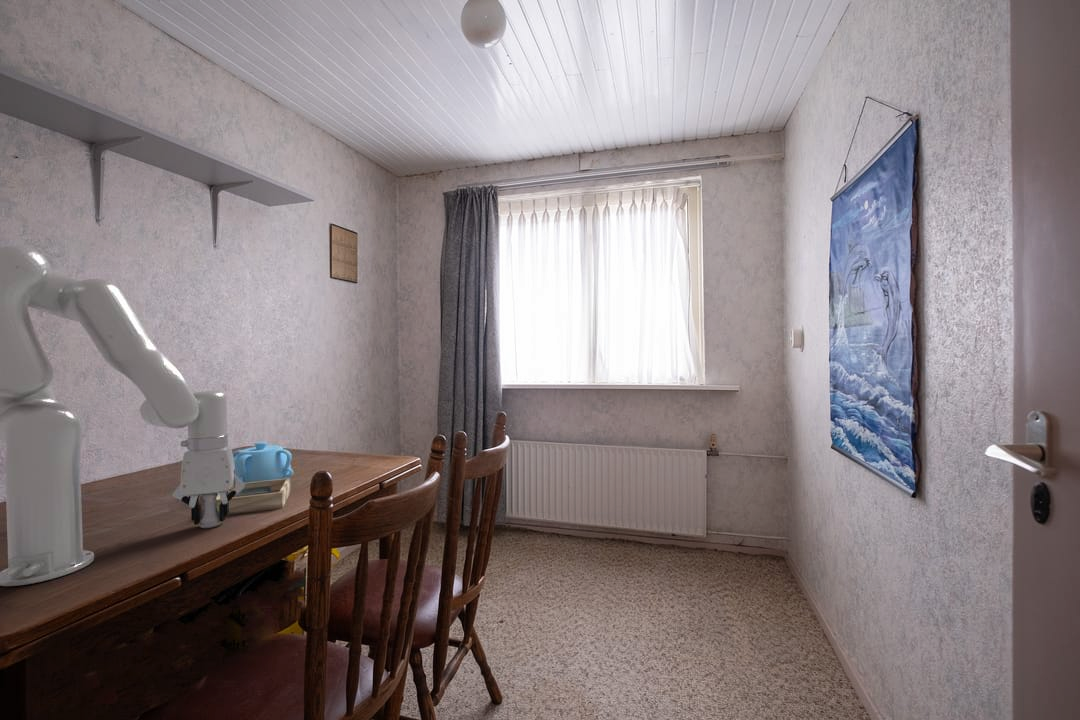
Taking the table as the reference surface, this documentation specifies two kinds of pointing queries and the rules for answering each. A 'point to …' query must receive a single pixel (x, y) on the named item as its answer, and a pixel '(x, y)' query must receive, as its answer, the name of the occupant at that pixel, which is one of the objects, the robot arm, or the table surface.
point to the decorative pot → (262, 463)
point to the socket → (254, 491)
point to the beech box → (259, 497)
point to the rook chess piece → (210, 512)
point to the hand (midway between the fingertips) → (210, 520)
